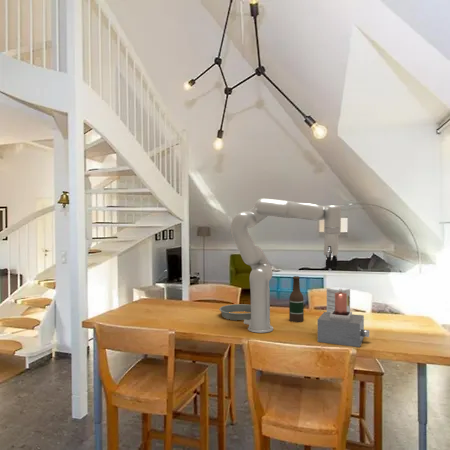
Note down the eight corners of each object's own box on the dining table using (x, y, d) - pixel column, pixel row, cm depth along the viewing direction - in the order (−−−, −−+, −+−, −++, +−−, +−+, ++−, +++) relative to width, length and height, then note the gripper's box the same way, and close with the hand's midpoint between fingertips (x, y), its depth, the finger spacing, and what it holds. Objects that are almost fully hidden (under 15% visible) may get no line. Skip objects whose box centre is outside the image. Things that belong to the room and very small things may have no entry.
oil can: (334, 322, 174) (333, 289, 174) (336, 319, 178) (335, 287, 178) (346, 323, 171) (345, 290, 171) (347, 321, 176) (347, 288, 176)
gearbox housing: (317, 341, 172) (317, 315, 171) (324, 332, 186) (324, 307, 186) (367, 348, 163) (367, 319, 162) (370, 337, 177) (370, 311, 177)
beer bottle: (302, 318, 212) (301, 275, 212) (305, 322, 204) (305, 277, 204) (288, 318, 212) (287, 275, 212) (290, 322, 204) (290, 277, 204)
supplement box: (340, 322, 205) (340, 290, 205) (326, 318, 212) (325, 288, 212) (350, 319, 211) (350, 288, 211) (336, 315, 218) (336, 286, 218)
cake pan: (270, 319, 213) (270, 310, 213) (229, 323, 204) (229, 315, 204) (250, 309, 236) (250, 302, 236) (213, 313, 227) (213, 305, 227)
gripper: (328, 230, 191) (327, 265, 191) (319, 231, 175) (319, 269, 175) (343, 231, 187) (343, 266, 187) (336, 232, 172) (335, 270, 172)
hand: (331, 267), depth 181 cm, fingers open, 9 cm apart
